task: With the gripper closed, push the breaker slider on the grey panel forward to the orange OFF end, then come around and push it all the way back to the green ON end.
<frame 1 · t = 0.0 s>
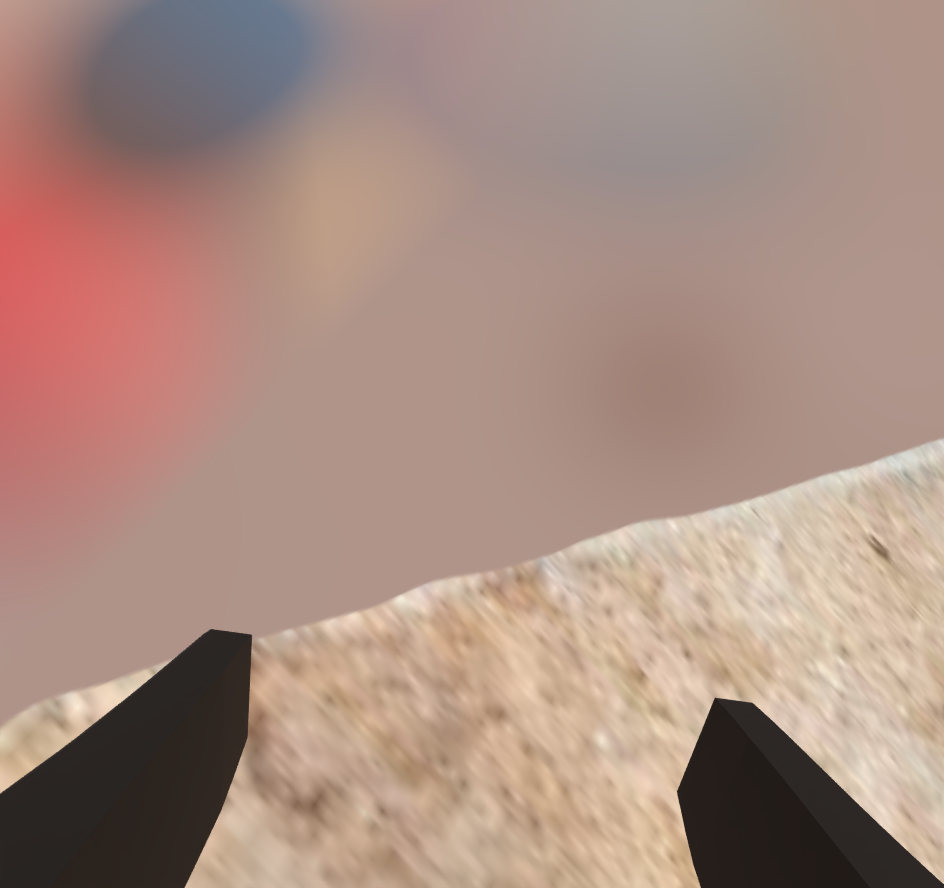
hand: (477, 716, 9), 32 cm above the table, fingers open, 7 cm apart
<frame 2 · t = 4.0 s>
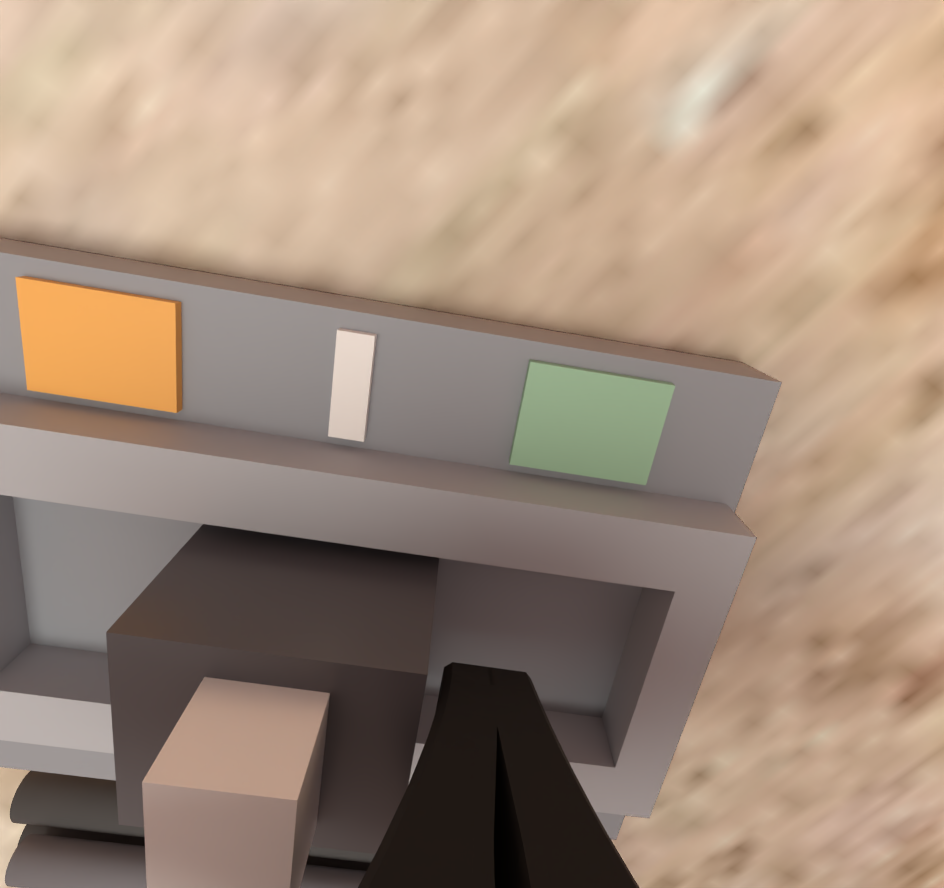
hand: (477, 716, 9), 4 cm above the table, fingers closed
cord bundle: (321, 804, 15), on the table
breaker panel: (347, 558, 13), on the table
breaker slider: (284, 700, 9), point 4 cm above the table, slide at 3.1 cm, touching gripper
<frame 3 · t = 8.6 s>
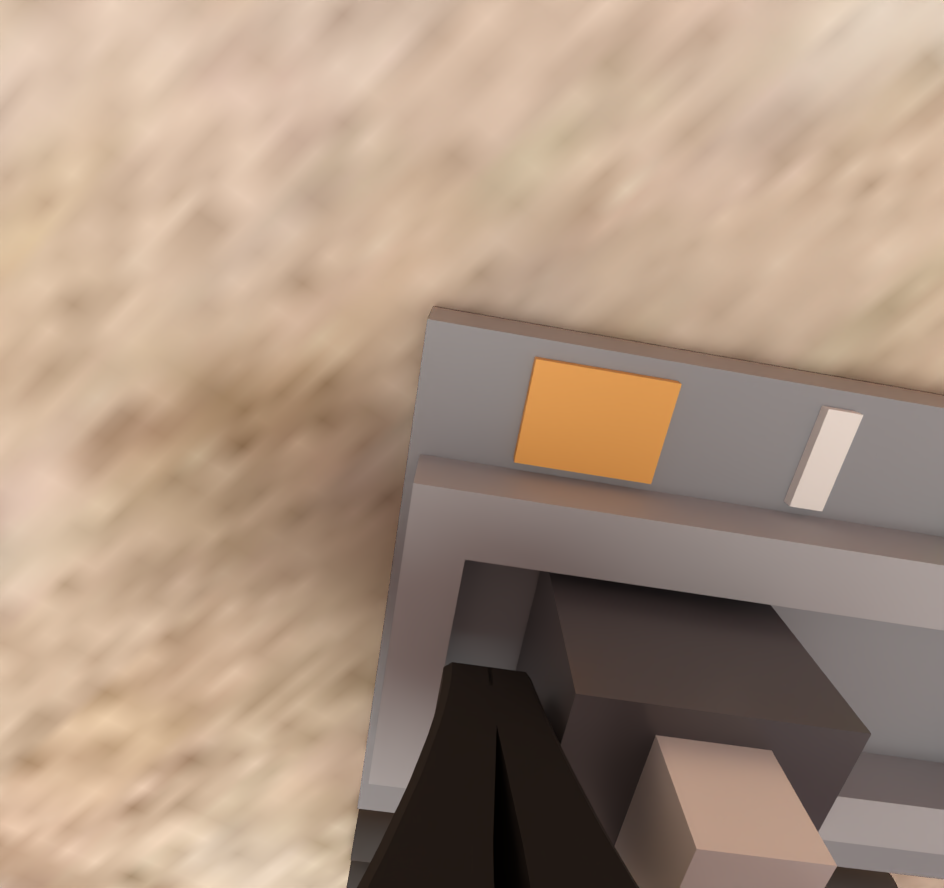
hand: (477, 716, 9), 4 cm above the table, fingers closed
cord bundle: (621, 840, 16), on the table
breaker panel: (708, 608, 13), on the table
breaker slider: (666, 749, 9), point 4 cm above the table, slide at 5.3 cm, touching gripper
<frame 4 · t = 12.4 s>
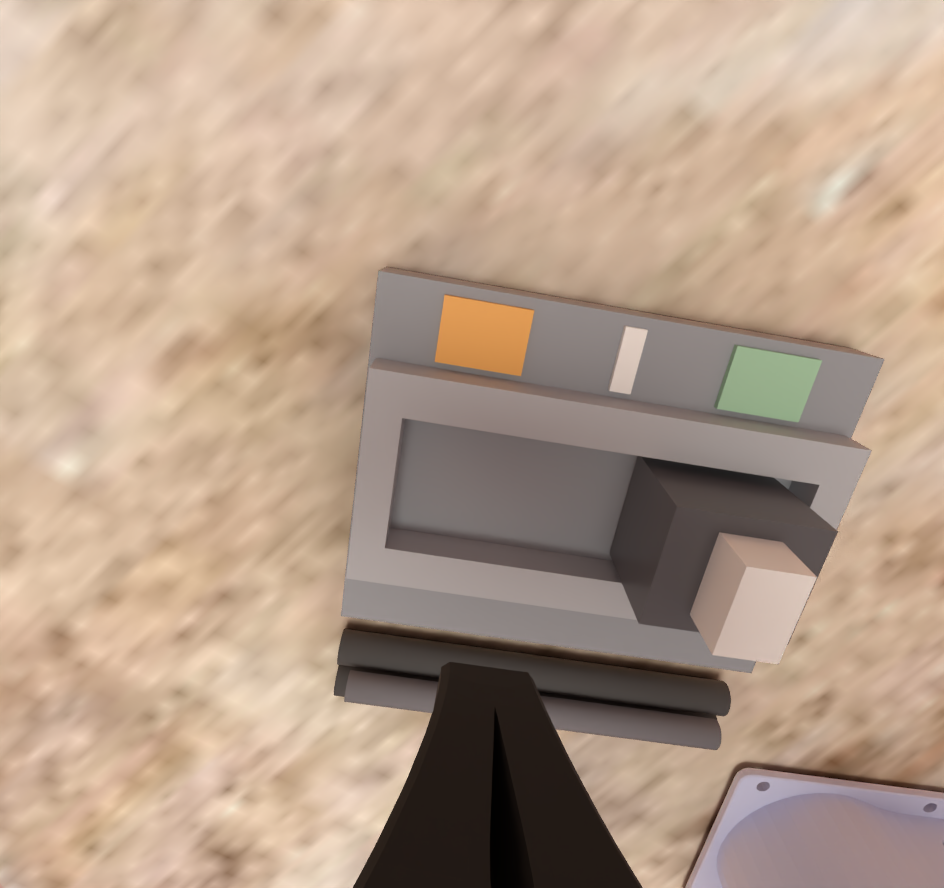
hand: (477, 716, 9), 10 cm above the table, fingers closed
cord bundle: (533, 661, 22), on the table
breaker panel: (580, 478, 19), on the table
breaker slider: (719, 558, 15), point 4 cm above the table, slide at 0.0 cm
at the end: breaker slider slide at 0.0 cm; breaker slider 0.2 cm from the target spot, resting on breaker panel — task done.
